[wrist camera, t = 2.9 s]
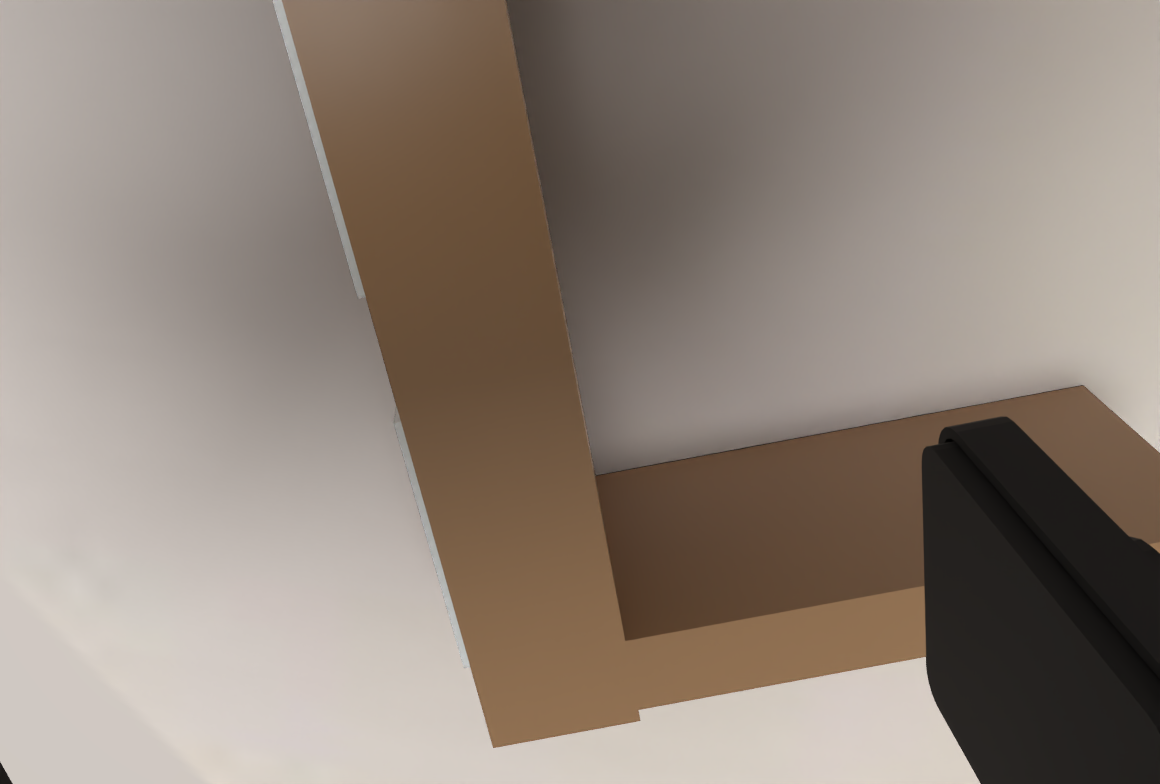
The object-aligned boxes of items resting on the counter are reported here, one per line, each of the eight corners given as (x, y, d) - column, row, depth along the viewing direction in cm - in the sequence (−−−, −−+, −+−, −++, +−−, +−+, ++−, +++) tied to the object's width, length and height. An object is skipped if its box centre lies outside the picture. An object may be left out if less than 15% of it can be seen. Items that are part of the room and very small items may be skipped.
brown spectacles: (282, -182, 15) (201, -197, 11) (1132, -342, 15) (1394, -422, 11) (479, 569, 22) (478, 750, 17) (1078, 458, 22) (1229, 611, 17)
